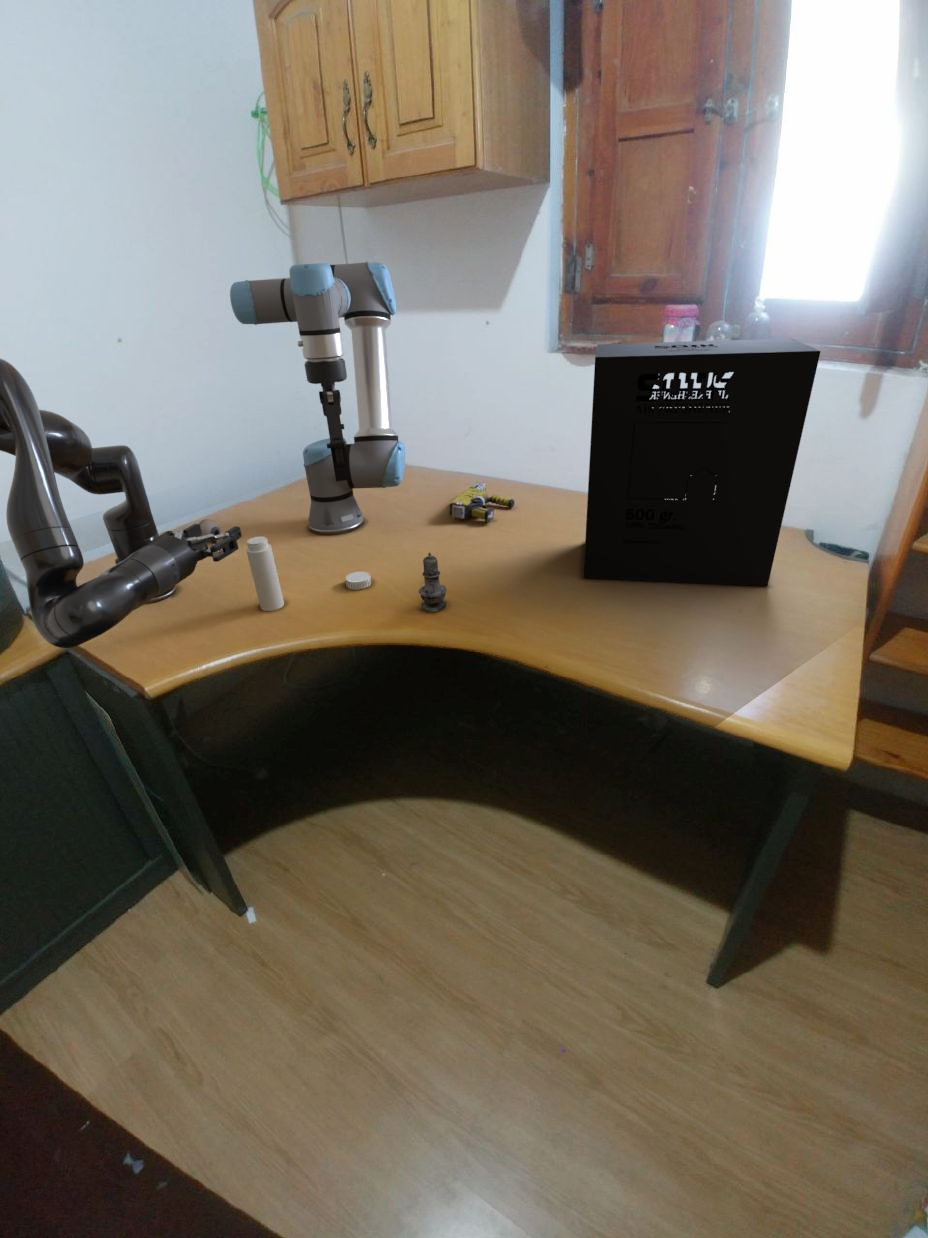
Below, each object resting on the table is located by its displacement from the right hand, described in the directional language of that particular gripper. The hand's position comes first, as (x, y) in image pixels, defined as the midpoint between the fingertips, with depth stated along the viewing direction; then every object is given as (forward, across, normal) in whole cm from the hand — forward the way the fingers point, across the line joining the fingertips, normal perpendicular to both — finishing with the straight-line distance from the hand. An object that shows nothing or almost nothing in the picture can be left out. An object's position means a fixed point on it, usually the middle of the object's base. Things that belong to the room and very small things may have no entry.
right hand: (341, 470), depth 124 cm
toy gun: (+26, -37, +39) cm, 60 cm away
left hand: (+4, +14, -24) cm, 28 cm away
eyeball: (+26, -39, -37) cm, 60 cm away
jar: (+26, +5, -19) cm, 32 cm away
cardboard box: (+26, +12, +70) cm, 75 cm away
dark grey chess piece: (+26, +16, +15) cm, 34 cm away
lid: (+24, 0, 0) cm, 24 cm away
